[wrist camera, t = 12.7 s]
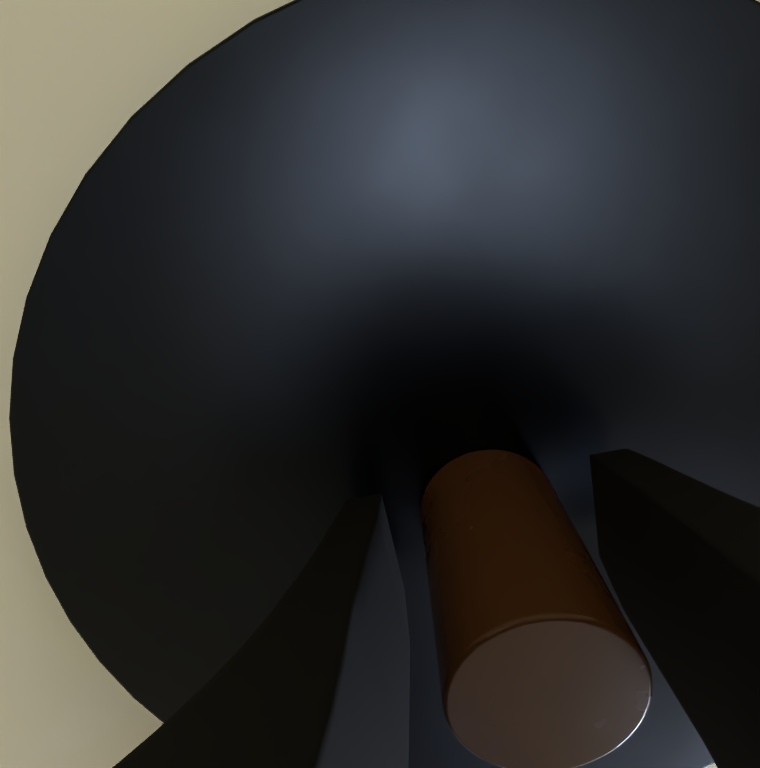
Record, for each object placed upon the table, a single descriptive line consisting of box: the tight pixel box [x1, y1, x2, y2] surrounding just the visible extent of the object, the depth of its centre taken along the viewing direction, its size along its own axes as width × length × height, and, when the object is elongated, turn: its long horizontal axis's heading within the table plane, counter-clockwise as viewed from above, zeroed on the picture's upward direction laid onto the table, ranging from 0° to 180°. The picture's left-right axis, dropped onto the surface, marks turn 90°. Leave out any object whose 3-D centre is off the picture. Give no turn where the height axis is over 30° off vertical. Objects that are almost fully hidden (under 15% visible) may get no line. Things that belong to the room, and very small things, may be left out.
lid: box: [9, 0, 760, 768], centre depth 9 cm, size 17×17×5 cm
